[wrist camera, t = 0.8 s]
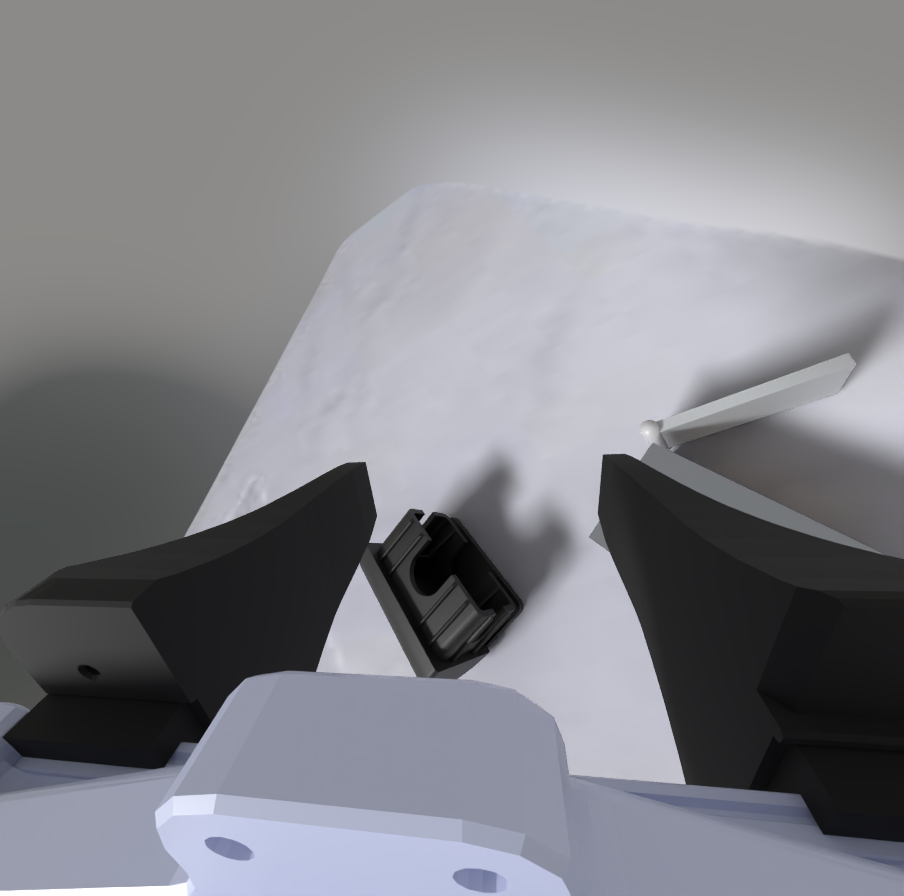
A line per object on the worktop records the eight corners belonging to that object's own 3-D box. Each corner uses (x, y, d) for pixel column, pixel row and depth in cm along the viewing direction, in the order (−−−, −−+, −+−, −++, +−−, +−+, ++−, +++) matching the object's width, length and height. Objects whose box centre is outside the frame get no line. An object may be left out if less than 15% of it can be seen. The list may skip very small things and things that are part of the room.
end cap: (405, 569, 33) (343, 571, 28) (452, 511, 32) (396, 502, 26) (469, 676, 27) (406, 705, 22) (531, 612, 26) (479, 627, 21)
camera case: (907, 581, 16) (962, 589, 12) (820, 686, 17) (845, 724, 13) (664, 459, 23) (651, 440, 19) (610, 539, 24) (585, 536, 20)
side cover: (828, 382, 19) (847, 347, 16) (838, 397, 19) (859, 364, 16) (650, 442, 24) (637, 424, 20) (655, 455, 23) (643, 438, 20)
